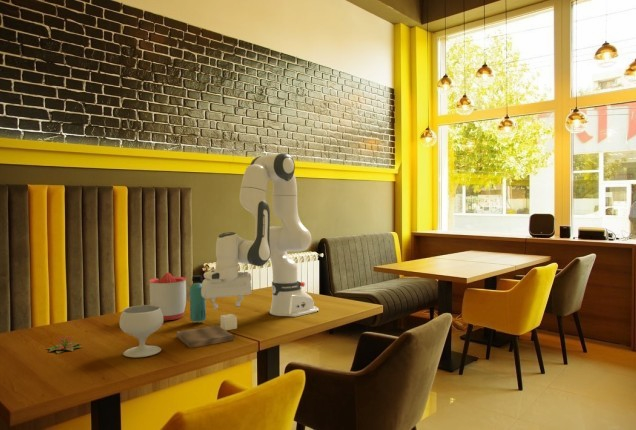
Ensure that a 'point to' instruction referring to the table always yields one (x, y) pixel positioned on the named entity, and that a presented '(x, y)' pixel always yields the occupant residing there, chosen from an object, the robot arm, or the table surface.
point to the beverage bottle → (197, 301)
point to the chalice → (141, 327)
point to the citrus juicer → (169, 295)
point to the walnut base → (204, 336)
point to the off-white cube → (228, 322)
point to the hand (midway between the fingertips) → (226, 307)
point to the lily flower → (64, 346)
